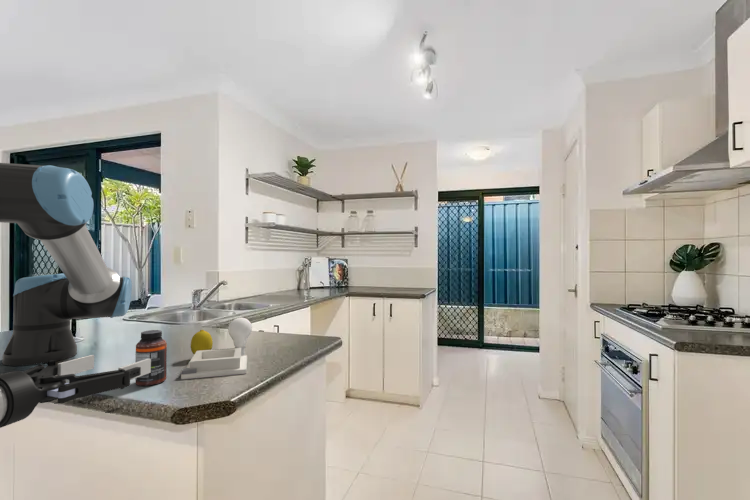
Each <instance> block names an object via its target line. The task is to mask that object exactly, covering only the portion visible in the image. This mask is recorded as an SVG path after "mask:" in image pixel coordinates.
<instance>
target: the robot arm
mask: <svg viewBox="0 0 750 500" xmlns="http://www.w3.org/2000/svg"><path fill="white" fill-rule="evenodd" d="M92 194H93V192H92V189H91V187H90V185H89V183H88V181H87V179H86V178H85V177H84V176H83V175H82V174H81V173H80V172H78V171H76V170H75V169H72V168H67V167H61V166H60V167H59V166H56V165H50V164H48V165H38V164H27V163H26V164H23V163H9V162H0V223H7V224H17V225H18V226H19V228H20V229H21V230H22V231H23V233H24V234H25V235H26V236H28V237H30V238H33V239H35V240H39V241H40V242H41V243H42V245H43V246H44V248H45V249H46V250H47V251H48V253H49V254H50V256H51V258H52V259H53V261H54V262H55V263H56V264H57V266H58V267H59V269H60V270H61V273H55V274H54V273H53V274H44V275H35V276H33V275H32V276H26V277H22V278H19V279H18V280H16V281H15V283H14V291H13V294H12V297H13V311H12V312H13V313H12V314H13V315H12V316H13V317H12V320H13V321H12V334H11V336H10V338H9V341H8V343H7V345H6V347H5V350H4V352H3V354H2V365H4V366H13V367H14V366H18V367H19V366H29V365H31V366H32V365H35V366H33V367H31V368H28V369H26V370H23V371H20V370H12V371H9V372H5V373H0V429H1V428H4V427H7V426H9V425H12V424H15V423H17V422H20V421H23V420H25V419H26V418H28V417H29V416H30V415H31V414H32V413H33V412H34V409H36V407H37V405H39V404H46V403H50V402H53V401H54V400H57V404H65V403H66V402H70V401H73V400H76V399H80V398H84V397H89V396H92V395H93V396H94V395H96V394H97V395H98V394H102V393H106V392H110V391H114V390H118V389H119V390H123V389H125V388H128V387H130V386H131V381H132V380H135V378H137V377H140V376H143V375H146V374H148V373H151V359H145V360H142V361H139V362H136V363H135V362H132V363H129V364H126V365H123V366H121V367H118V368H117V369H115V370H110V371H103V372H95V373H89V374H82V375H76V374H79V373H80V374H81V373H83V372H86V371H90V370H92V369H94V368H95V354H90V355H86V356H81V357H79V358H74V359H69V358H73V357H75V356H76V355H77V354H78V345H77V343H76V341H75V338H74V335H73V333H72V330H71V320H76V319H97V318H98V319H101V318H110V319H113V318H118V317H123V316H125V315H126V314H127V313H128V311H129V308H130V304H131V299H132V287H133V283H132V279H131V278H130V277H129V276H127V277H126V276H122V277H121V276H119V273H118V272H117V271H116V270H115V269H112V268H111V267H108V266H107V264H106V262H105V261H104V259H103V257H102V255H101V252H100V251H99V248H98V247H97V245H96V243H95V240H94V239H93V238H92V235H91V233H90V232H89V229H88V227H87V224H88V222H89V221H90V220H91V218H92V216H93V213H94V206H95V205H94V199H93V197H92ZM66 359H69V360H66ZM63 360H65V361H63ZM57 361H63V362H59V363H57ZM46 363H47V365H46V366H45V364H46ZM66 380H68V382H66Z"/></svg>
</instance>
